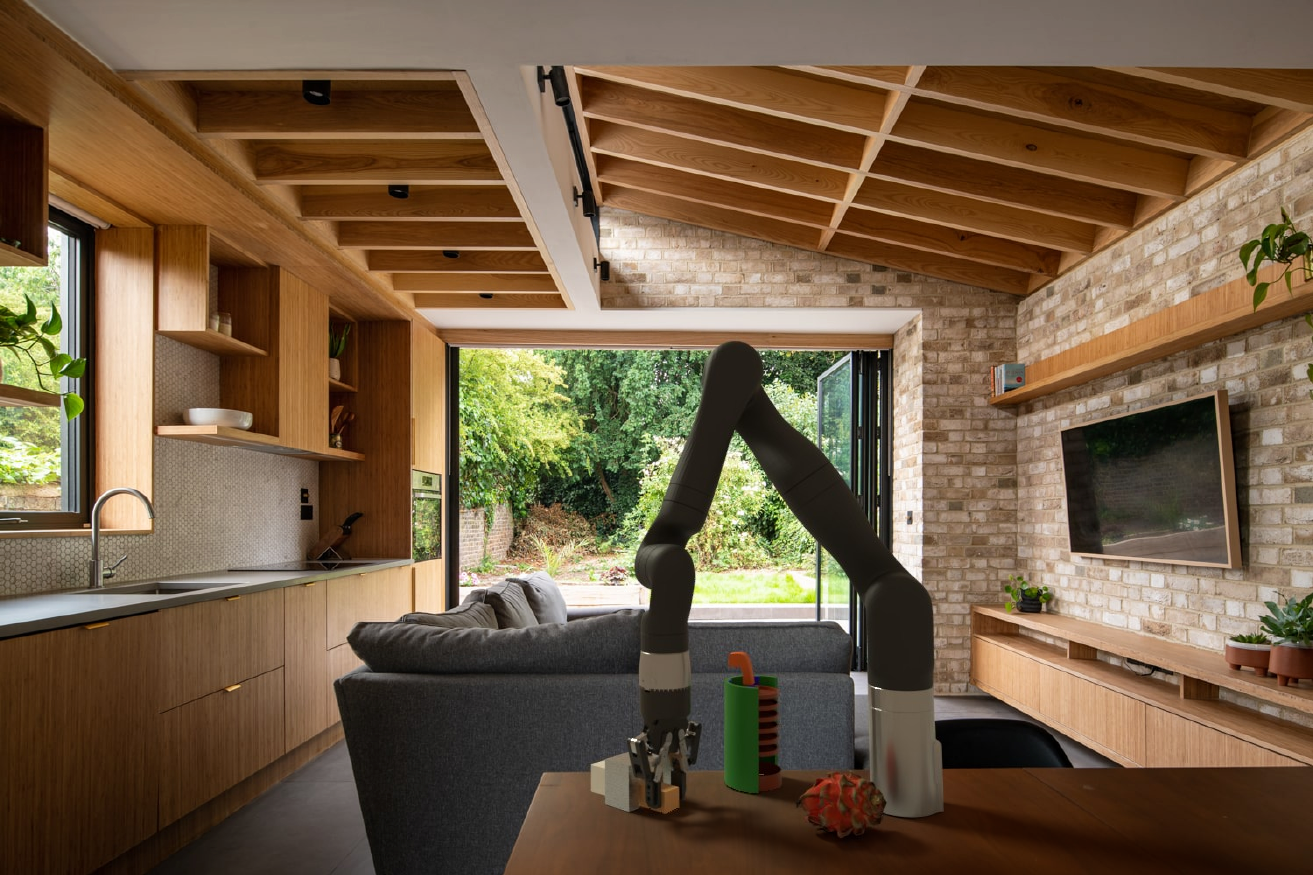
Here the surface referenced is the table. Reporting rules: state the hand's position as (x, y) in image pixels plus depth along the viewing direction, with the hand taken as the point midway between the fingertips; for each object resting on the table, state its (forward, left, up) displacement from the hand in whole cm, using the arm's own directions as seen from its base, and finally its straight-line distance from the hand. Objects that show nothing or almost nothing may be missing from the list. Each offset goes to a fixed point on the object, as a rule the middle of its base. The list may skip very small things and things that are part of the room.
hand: (666, 801), depth 123 cm
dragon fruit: (-22, +12, -1) cm, 25 cm away
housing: (+3, -4, -1) cm, 6 cm away
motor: (-15, -9, -1) cm, 18 cm away
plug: (+4, -5, -1) cm, 6 cm away
